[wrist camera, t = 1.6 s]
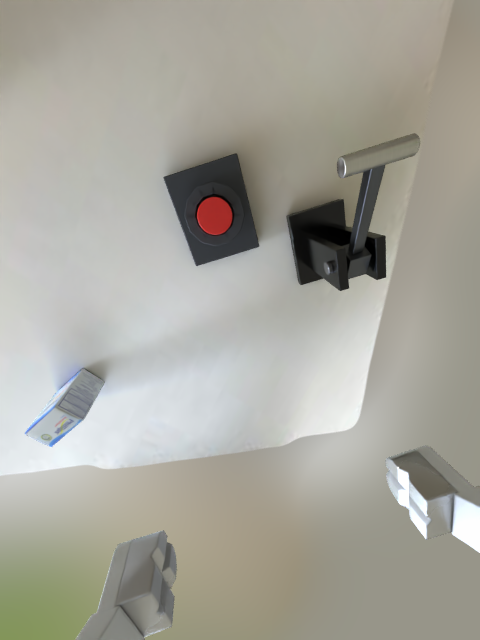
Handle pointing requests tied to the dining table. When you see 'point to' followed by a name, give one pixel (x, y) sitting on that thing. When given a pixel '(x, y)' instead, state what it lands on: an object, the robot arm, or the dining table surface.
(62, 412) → the medicine box
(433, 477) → the robot arm
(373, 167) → the switch lever
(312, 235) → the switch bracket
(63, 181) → the dining table surface
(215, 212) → the button
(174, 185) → the control block
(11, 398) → the dining table surface
